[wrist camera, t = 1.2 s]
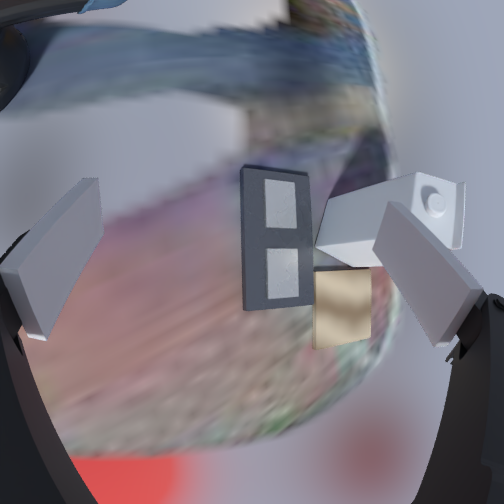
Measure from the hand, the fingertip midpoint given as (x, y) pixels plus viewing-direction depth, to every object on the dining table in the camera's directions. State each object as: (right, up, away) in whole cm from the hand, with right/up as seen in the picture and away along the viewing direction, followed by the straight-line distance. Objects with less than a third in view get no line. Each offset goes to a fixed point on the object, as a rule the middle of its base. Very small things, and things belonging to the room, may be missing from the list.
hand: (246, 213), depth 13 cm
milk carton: (+12, +1, +28) cm, 30 cm away
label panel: (+3, 0, +23) cm, 24 cm away
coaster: (+12, -9, +27) cm, 31 cm away
